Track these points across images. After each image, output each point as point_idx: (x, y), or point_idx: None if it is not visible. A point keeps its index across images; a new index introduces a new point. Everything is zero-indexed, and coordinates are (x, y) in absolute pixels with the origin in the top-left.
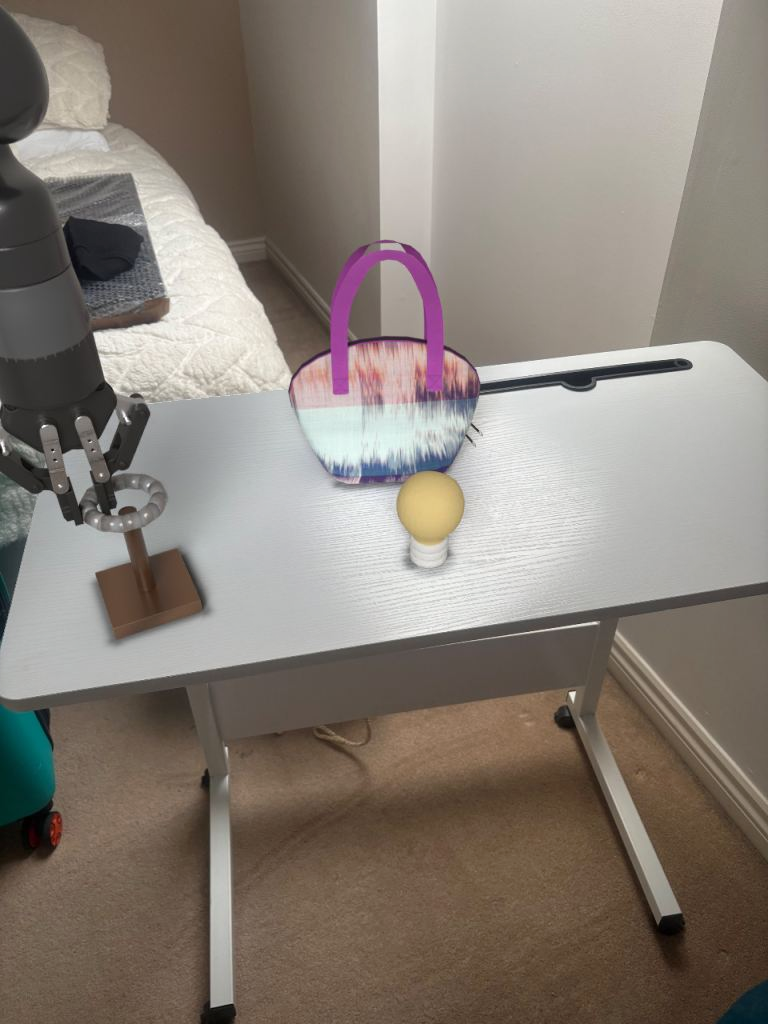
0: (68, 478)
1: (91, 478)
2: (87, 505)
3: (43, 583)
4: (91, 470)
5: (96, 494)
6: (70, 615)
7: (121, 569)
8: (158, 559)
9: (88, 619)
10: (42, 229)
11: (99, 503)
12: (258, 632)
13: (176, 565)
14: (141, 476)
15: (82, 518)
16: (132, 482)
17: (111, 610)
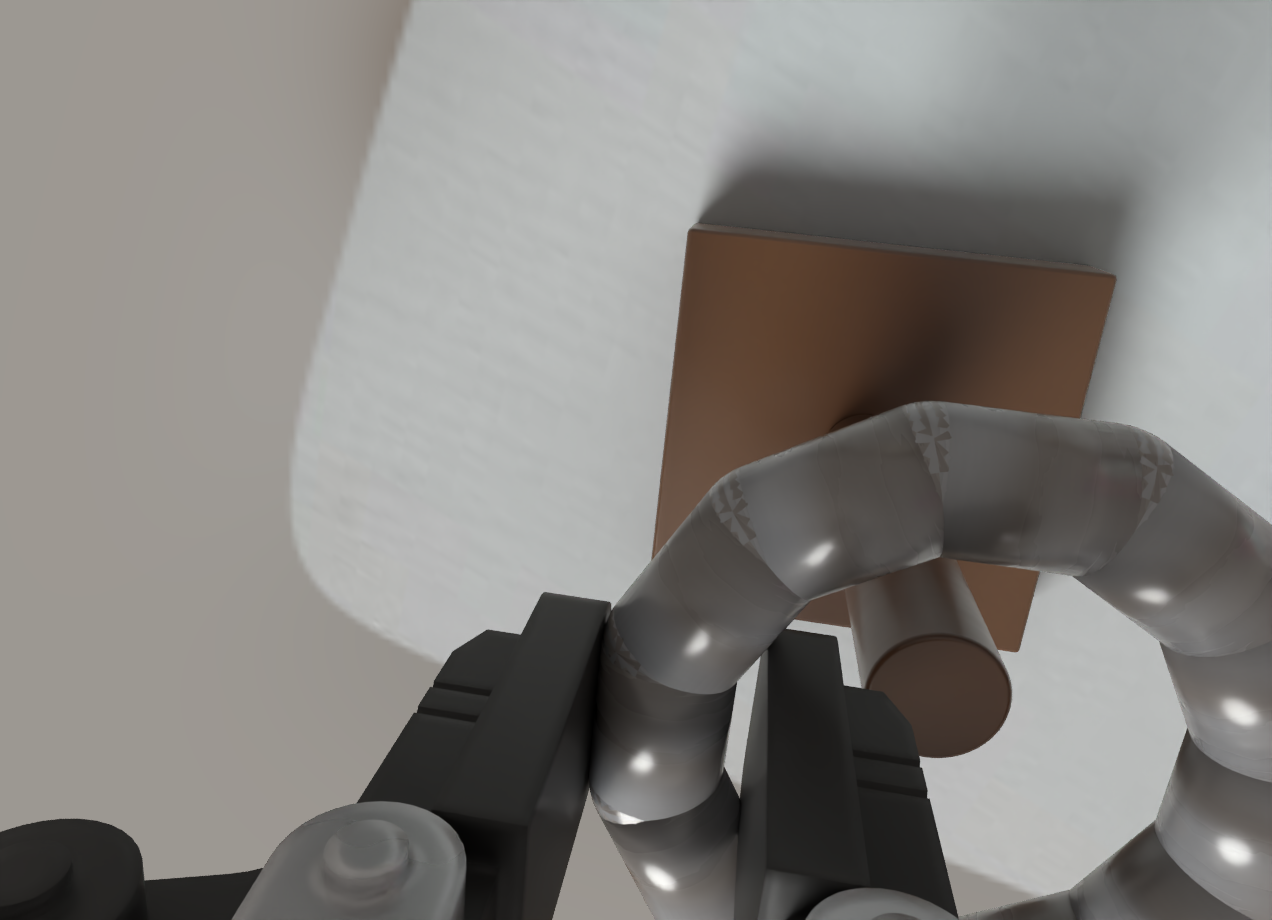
0: (510, 860)
1: (760, 852)
2: (653, 767)
3: (478, 74)
4: (793, 883)
5: (749, 829)
6: (538, 346)
7: (806, 280)
8: (991, 308)
9: (595, 408)
10: None
11: (737, 881)
12: (1117, 815)
13: (1043, 401)
14: (1265, 651)
15: (584, 804)
16: (1143, 620)
17: (675, 504)
